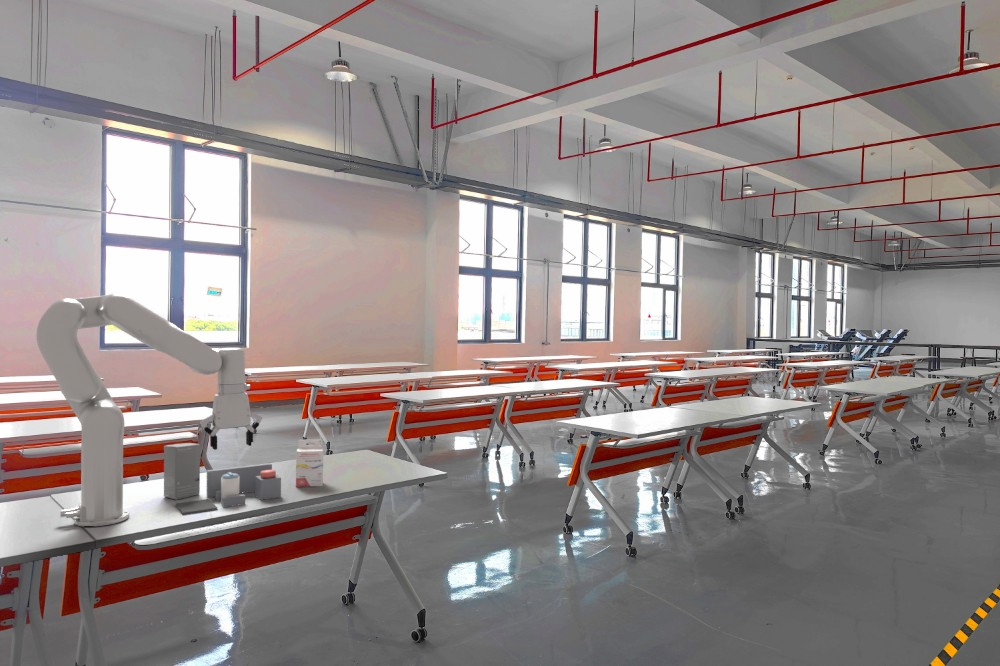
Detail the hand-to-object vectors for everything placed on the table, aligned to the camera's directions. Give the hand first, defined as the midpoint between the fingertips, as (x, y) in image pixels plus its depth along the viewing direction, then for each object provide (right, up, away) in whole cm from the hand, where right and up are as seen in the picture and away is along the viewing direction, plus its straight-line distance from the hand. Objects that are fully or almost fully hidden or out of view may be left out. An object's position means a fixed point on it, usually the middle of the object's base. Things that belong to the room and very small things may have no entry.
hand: (232, 447), depth 192 cm
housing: (+2, -16, +5) cm, 17 cm away
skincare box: (-18, -16, +6) cm, 25 cm away
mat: (-8, -16, -6) cm, 19 cm away
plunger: (+8, -15, +7) cm, 18 cm away
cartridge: (0, -16, 0) cm, 16 cm away
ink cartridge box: (+17, -16, +21) cm, 32 cm away
